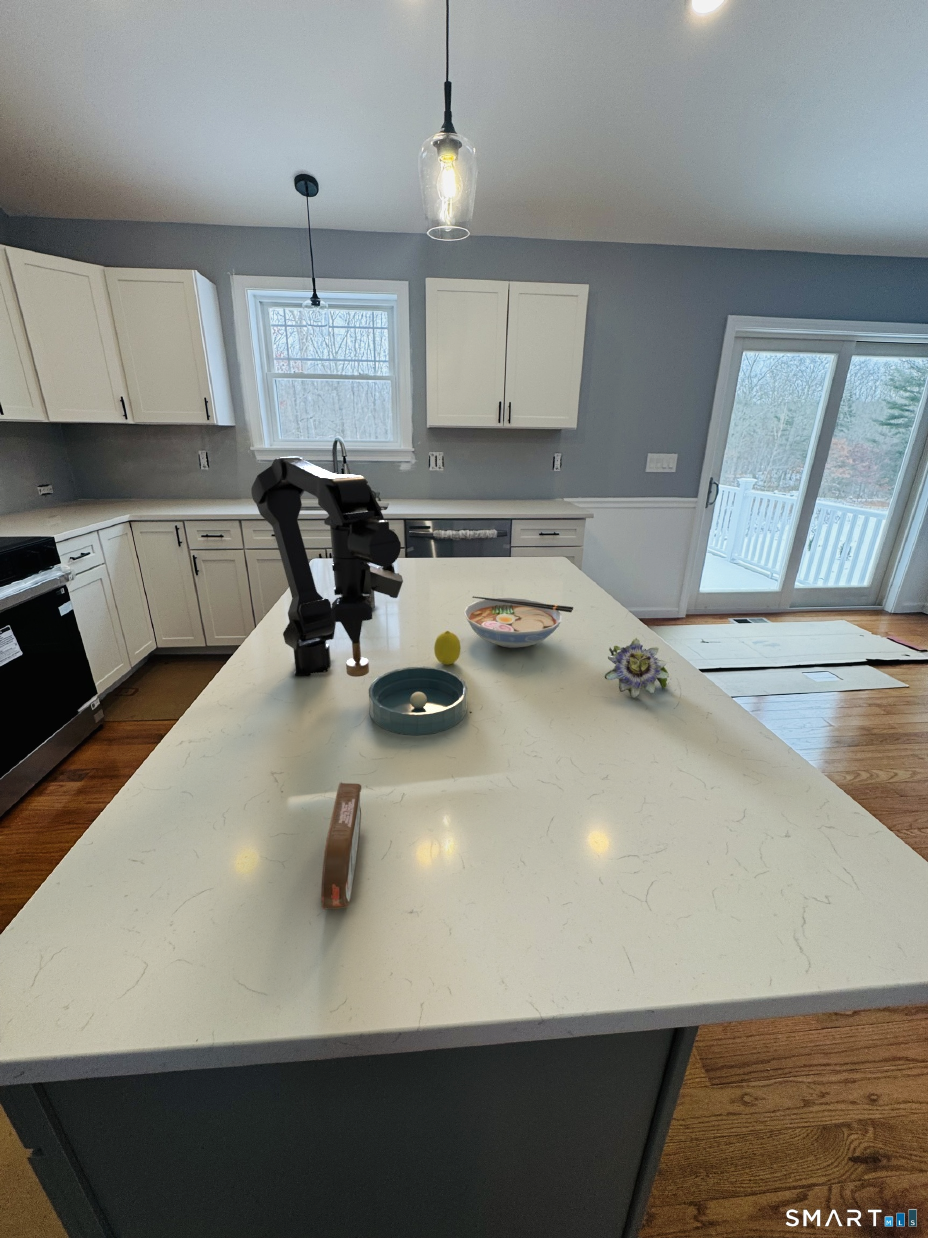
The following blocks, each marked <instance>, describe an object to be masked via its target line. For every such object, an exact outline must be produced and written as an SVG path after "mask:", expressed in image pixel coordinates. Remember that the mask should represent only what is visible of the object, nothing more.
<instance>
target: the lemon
mask: <svg viewBox="0 0 928 1238" xmlns="http://www.w3.org/2000/svg"><path fill="white" fill-rule="evenodd" d="M433 650H434V655H435V658H436V660H437V661H438V662H439V663H441V664H442V665H445V666H449V665H452V664H455V662H457V661H458V660H459V658H460V656H461V641H460V639H459V637H458V636H457V635H456V634H455V633H454V632H452V631H450V630H445V631H444V632H442V633H440V634H439V635H438V636H437V637H436V639H435V641H434V646H433Z"/></svg>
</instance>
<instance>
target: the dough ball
mask: <svg viewBox="0 0 928 1238" xmlns="http://www.w3.org/2000/svg"><path fill="white" fill-rule="evenodd" d="M410 703H411V705H412V706H413V707H414V708H416V709H421V708H423V707H424V706H425V705H426V703H427V698H426V696H425V694H424V693H422V692H415V693H414V694H412V696H411V698H410Z"/></svg>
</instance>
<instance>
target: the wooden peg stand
mask: <svg viewBox="0 0 928 1238" xmlns="http://www.w3.org/2000/svg"><path fill="white" fill-rule="evenodd" d="M351 647H352V649H351V650H352V658H349V659H348V660H347V661H346V662H345V667H346V670H345V671H346V674H347V675H348V676H349V677H353V678H354V677H355V678H356V677H357V678H359V677H363V676H366V675H368V674H369V672H370V661H369V659H368V658H366V657H362V650H361V639H360V640H359V643H356V644H353V643H352V642H351Z"/></svg>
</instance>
